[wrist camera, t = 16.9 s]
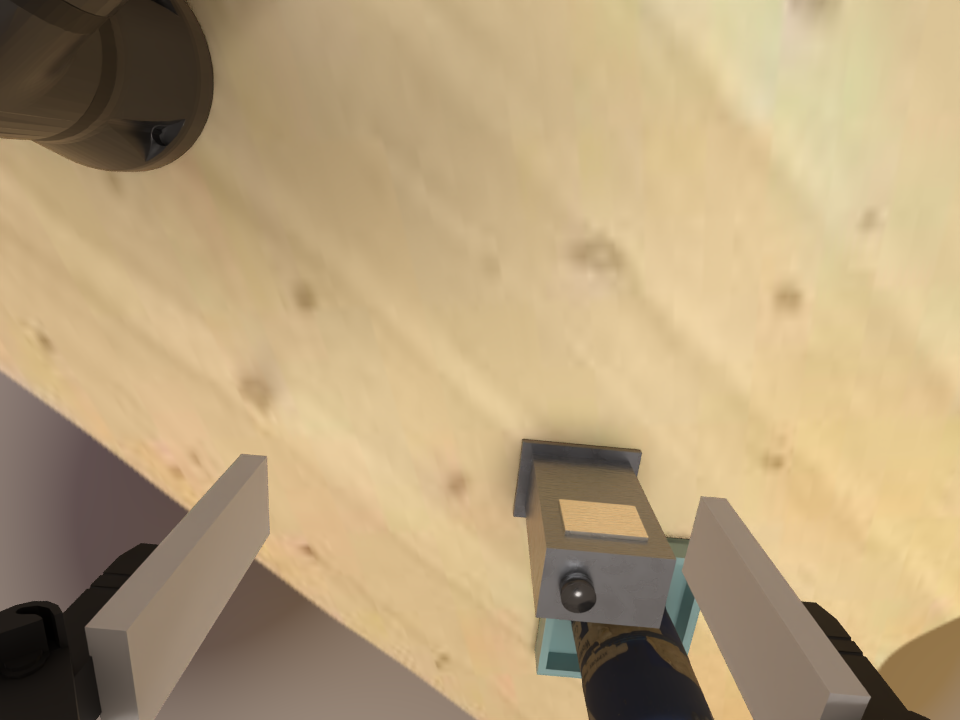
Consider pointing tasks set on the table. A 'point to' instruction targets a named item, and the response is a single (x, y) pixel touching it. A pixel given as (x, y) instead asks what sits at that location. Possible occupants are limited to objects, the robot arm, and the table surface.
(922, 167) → the table surface
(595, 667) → the canister
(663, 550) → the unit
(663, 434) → the table surface
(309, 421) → the table surface
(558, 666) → the tray
